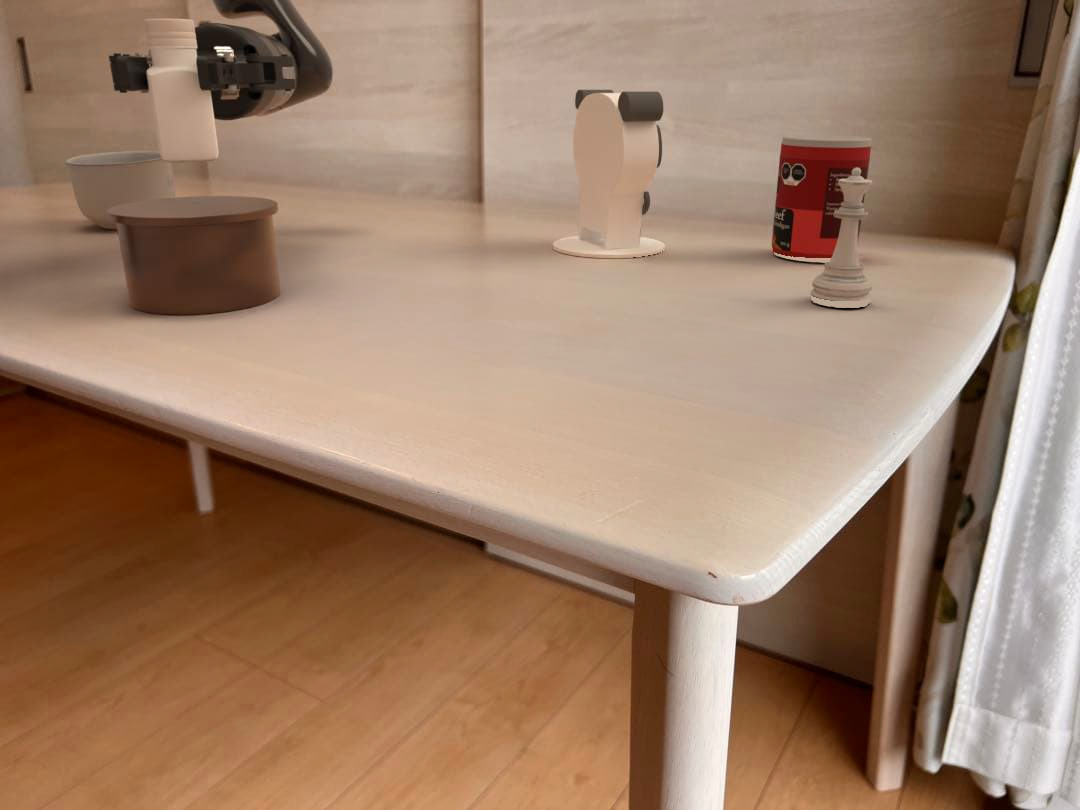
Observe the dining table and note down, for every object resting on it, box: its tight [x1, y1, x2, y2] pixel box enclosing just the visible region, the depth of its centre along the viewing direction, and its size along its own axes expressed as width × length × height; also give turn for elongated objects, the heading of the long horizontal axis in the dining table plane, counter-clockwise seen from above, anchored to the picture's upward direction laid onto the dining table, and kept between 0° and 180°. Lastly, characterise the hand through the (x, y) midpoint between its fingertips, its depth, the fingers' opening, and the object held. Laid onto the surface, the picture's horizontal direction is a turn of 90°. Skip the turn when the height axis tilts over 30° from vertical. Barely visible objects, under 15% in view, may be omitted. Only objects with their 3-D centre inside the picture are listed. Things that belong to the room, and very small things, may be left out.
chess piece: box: [810, 168, 873, 301], centre depth 64 cm, size 4×4×10 cm
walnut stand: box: [107, 195, 281, 316], centre depth 66 cm, size 12×12×7 cm
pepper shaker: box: [143, 18, 220, 164], centre depth 62 cm, size 4×4×10 cm
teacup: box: [64, 150, 176, 231], centre depth 99 cm, size 14×11×8 cm
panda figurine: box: [552, 89, 666, 259], centre depth 84 cm, size 12×11×15 cm
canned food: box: [771, 134, 872, 258], centre depth 81 cm, size 8×8×11 cm
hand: (163, 73), depth 59 cm, fingers closed on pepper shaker, 4 cm apart
